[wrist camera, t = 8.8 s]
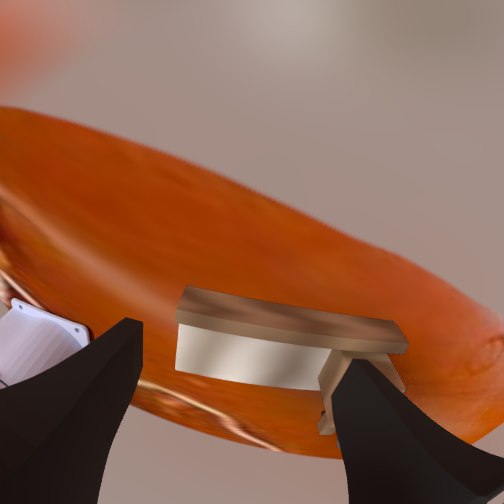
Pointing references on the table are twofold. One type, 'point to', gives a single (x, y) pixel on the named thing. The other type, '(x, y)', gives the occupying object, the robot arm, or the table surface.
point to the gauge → (335, 372)
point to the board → (270, 339)
